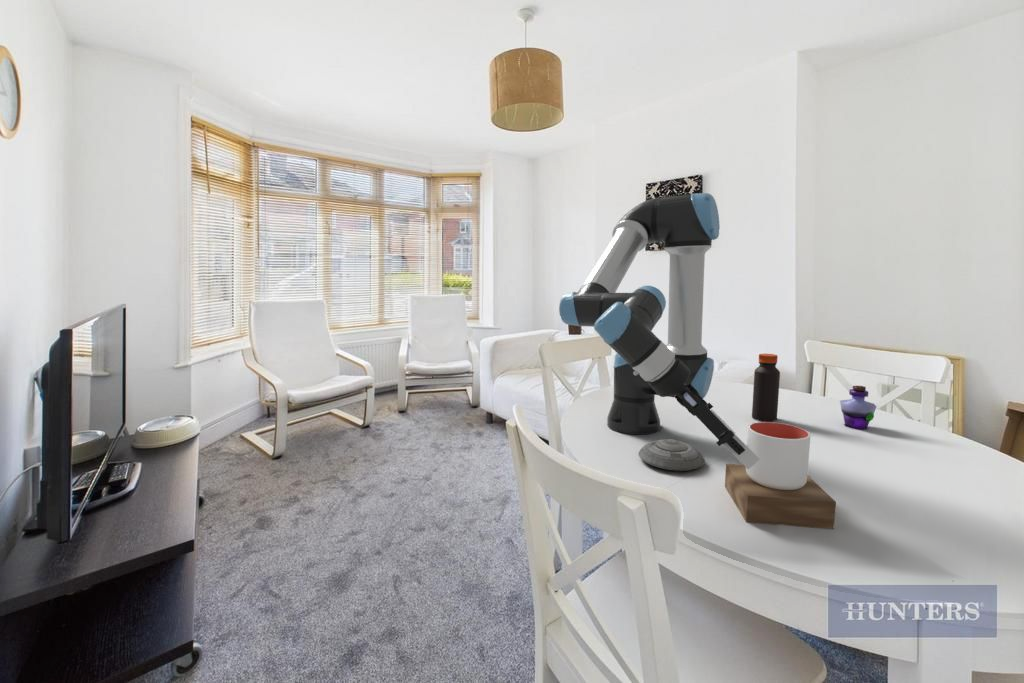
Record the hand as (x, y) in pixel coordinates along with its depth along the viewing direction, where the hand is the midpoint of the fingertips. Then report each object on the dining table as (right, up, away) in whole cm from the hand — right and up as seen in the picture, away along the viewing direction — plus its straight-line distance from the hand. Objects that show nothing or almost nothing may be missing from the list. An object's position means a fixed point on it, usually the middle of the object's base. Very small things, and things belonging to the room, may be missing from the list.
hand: (740, 449), depth 85 cm
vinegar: (+34, -3, +52) cm, 63 cm away
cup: (+6, -6, 0) cm, 9 cm away
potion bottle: (+56, -4, +44) cm, 71 cm away
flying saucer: (-6, -9, +22) cm, 24 cm away
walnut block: (+6, -11, 0) cm, 13 cm away
